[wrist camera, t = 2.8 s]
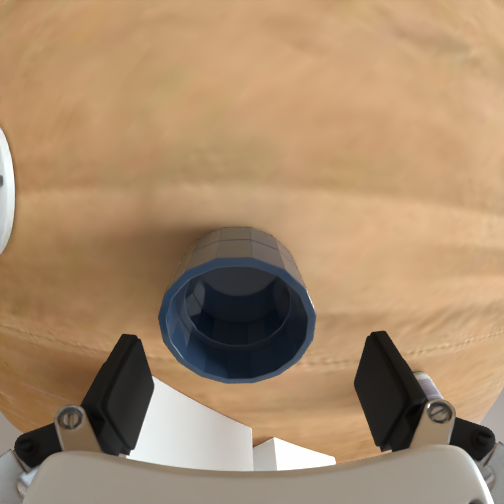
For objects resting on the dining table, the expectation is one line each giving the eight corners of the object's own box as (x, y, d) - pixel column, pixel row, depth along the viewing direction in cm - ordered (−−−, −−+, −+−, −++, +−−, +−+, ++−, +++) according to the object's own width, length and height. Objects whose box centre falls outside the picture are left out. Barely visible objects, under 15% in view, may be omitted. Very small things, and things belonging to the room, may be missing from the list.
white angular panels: (334, 457, 27) (351, 528, 16) (271, 484, 29) (276, 546, 19) (151, 374, 20) (116, 493, 10) (104, 417, 22) (76, 499, 12)
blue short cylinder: (186, 329, 18) (173, 382, 14) (173, 226, 16) (147, 259, 11) (293, 327, 18) (306, 380, 14) (299, 223, 16) (323, 255, 11)
